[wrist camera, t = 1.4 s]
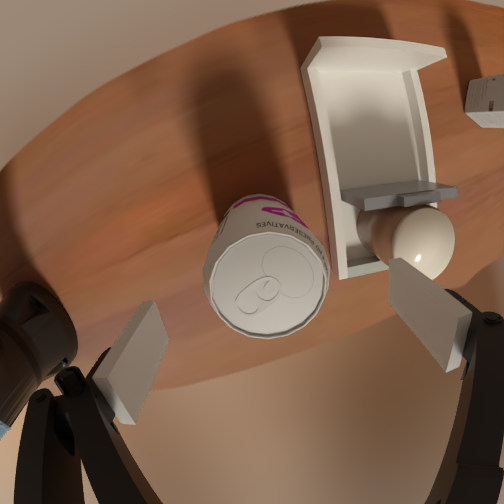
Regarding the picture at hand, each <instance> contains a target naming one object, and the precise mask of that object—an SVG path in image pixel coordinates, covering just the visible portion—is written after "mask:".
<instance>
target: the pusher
mask: <svg viewBox="0 0 504 504" xmlns="http://www.w3.org/2000/svg"><path fill="white" fill-rule="evenodd" d="M340 196H341V201H344V202H346V203H348V204H350V205H353V206H355V207H357V208H359V209H362V210H364V211H368V210H375V209H381V208H388V207H394V206H403V207H409V206H415V205H422V204H429V203H436V202H441V200H442V199H450V198H457V187H454V186H449V185H444V184H439V183H434V182H428V181H422V180H417V181H407V182H398V183H390V184H382V185H374V186H366V187H358V188H351V189H344V190H340Z"/></svg>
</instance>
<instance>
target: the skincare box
mask: <svg viewBox="0 0 504 504" xmlns="http://www.w3.org/2000/svg"><path fill="white" fill-rule="evenodd" d="M465 113H466V114H467V115H468V116H469V117H470V118H471V119H473V120H474V121H475V122H476V123H477V124H478V125H480V126H481V127H482V128H504V74H502V75H495V76H490V77H484V78H479V79H473V80H470V82H469V86H468V91H467V97H466V104H465Z"/></svg>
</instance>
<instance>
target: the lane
mask: <svg viewBox="0 0 504 504" xmlns="http://www.w3.org/2000/svg"><path fill="white" fill-rule="evenodd" d="M446 57H447V55H446V52H445V49H444V48H441V47H436V46H431V45H426V44H420V43H414V42H407V41H399V40H391V39H381V38H368V37H345V36H319V37H318V39H317V41H316V42H315V44H314V46H313V47H312V49H311V51H310V52H309V54H308V56H307V57H306V59H305V61H304V63H303V64H302V66H301V68H300V71H301V75H302V80H303V84H304V89H305V93H306V98H307V103H308V107H309V112H310V117H311V122H312V128H313V133H314V139H315V144H316V150H317V156H318V162H319V168H320V175H321V181H322V188H323V195H324V203H325V210H326V218H327V227H328V236H329V245H330V255H331V266H332V271H333V272H334V273H335V275H336V276H337V277H338V279H339V280H341V279H346V278H351V277H355V276H360V275H365V274H369V273H374V272H378V271H383V270H387V269H389V267H388V266H387V265H386V264H385V263H383V262H382V261H381V260H380V259H379V258H377V257H376V256H375V255H374V254H372V253H371V252H370V251H369V250H367V249H366V248H365V247H364V246H363V245H362V243H361V242H360V240H359V237H358V234H357V218H358V214H359V212H360V210H361V209H359V208H357V207H355V206H353V205H350V204H348V203H346V202H344V201H341V196H340V190H344V189H351V188H358V187H366V186H374V185H382V184H390V183H398V182H407V181H417V180H422V181H428V182H434V183H436V180H435V169H434V159H433V150H432V143H431V136H430V129H429V123H428V118H427V112H426V107H425V102H424V98H423V93H422V89H421V84H420V80H419V76H418V73H417V70H419V69H421V68H423V67H425V66H428V65H430V64H432V63H435V62H437V61H439V60H442V59H444V58H446ZM427 205H430V206H433V207H435V208H437V202H436V203H429V204H427Z"/></svg>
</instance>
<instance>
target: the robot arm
mask: <svg viewBox="0 0 504 504" xmlns="http://www.w3.org/2000/svg"><path fill="white" fill-rule="evenodd" d="M389 304H390V305H391V307H392V308H393V309H394V310H395V311H396V312H397V313H398V315H399V316H400V317H401V318H402V319H403V320H404V321H405V323H406V324H407V325H408V326H409V328H410V329H411V330H412V331H413V332H414V333H415V335H416V336H417V337H418V338H419V339H420V341H421V342H422V343H423V344H424V346H425V347H426V348H427V349H428V351H429V352H430V353H431V354H432V355H433V357H434V358H435V359H436V360H437V362H438V363H439V364H440V366H441V367H442V368H443V369H444V371H445V372H448V371H450V370H453V369H455V368H457V367H459V365H460V362H461V358H462V356H463V357H464V358H465V359H466V360H467V362H466V365H465V368H464V371H463V375H462V378H461V380H463V382H462V388H461V393H460V398H459V404H458V407H457V412H456V416H455V420H454V424H453V428H452V431H451V435H450V438H449V442H448V445H447V448H446V452H445V454H444V457H443V461H442V463H441V466H440V469H439V471H438V474H437V477H436V479H435V482H434V484H433V487H432V489H431V492H430V494H429V496H428V498H427V500H426V502H425V504H497V500H498V497H499V493H500V489H501V486H502V481H503V476H504V470H503V468H500V467H499V460H500V455H501V449H502V443H503V436H504V319H503V317H502V316H501V315H499V314H497V313H495V312H483V313H482V312H480V311H479V310H478V309H477V308H475V307H474V306H473V305H472V304H470V303H469V302H467V301H466V300H465V299H464V298H462V297H461V296H460V295H459V294H458V293H456V292H454V291H452V290H449V289H443V288H441V287H440V286H439V285H437V284H436V283H435V282H434V281H432V280H431V279H430V278H428V277H427V276H426V275H424V274H423V273H422V272H420V271H419V270H418V269H416V268H415V267H413V266H412V265H411V264H409V263H408V262H407V261H405V260H404V259H402V258H401V257H400V258H395V259H390V260H389ZM168 343H169V339H168V336H167V333H166V331H165V328H164V325H163V323H162V320H161V317H160V314H159V311H158V308H157V305H156V303H155V300H154V301H147V302H143V303H142V304H141V305H140V307H139V308H138V310H137V311H136V312H135V314H134V315H133V317H132V318H131V320H130V321H129V322H128V324H127V325H126V327H125V328H124V330H123V331H122V333H121V334H120V336H119V337H118V339H117V340H116V342H115V343H114V345H113V346H112V347H109V348H108V349H107V350H105V351H104V352H103V353H102V354H101V356H100V357H99V358H98V361H96V363H95V364H94V366H93V367H92V369H91V370H90V372H89V373H88V375H87V376H86V378H84V376H83V374H82V372H81V371H80V369H79V368H78V367H76V366H70V367H68V366H69V365H70V364H71V362H72V361H73V360H74V358H75V357H76V354H77V350H78V342H77V336H76V332H75V329H74V327H73V324H72V322H71V320H70V318H69V316H68V315H67V313H66V311H65V310H64V309H63V307H62V306H61V305H60V303H59V302H58V301H57V300H56V299H55V298H54V297H53V296H52V295H51V294H50V293H49V292H48V291H46V290H45V289H44V288H42V287H40V286H39V285H37V284H34V283H31V282H21V283H19V284H17V285H15V286H14V287H12V288H11V289H10V290H9V291H8V292H7V293H6V294H5V296H4V297H3V299H2V301H1V302H0V440H1V438H2V437H3V435H5V433H6V432H7V431H9V430H10V427H11V426H12V424H13V423H14V421H15V420H16V418H17V417H18V415H19V414H20V412H21V411H22V409H23V408H24V406H25V405H26V404H27V402H28V401H29V402H28V406H27V411H26V415H25V419H24V425H23V429H22V434H21V440H20V446H19V452H18V460H17V467H16V477H15V488H14V504H85V501H84V492H83V483H82V472H81V460H82V463H83V466H84V468H85V471H86V474H87V476H88V479H89V481H90V484H91V486H92V489H93V491H94V493H95V495H96V498H97V500H98V502H99V504H163V503H162V502H161V500H160V499H159V498H158V496H157V495H156V493H155V492H154V490H153V489H152V487H151V486H150V484H149V483H148V481H147V480H146V478H145V477H144V475H143V473H142V472H141V470H140V469H139V467H138V465H137V463H136V462H135V460H134V458H133V457H132V455H131V453H130V451H129V450H128V448H127V446H126V444H125V442H124V440H123V439H122V437H121V435H120V433H119V431H118V429H117V427H116V425H115V424H114V422H113V419H114V417H115V415H116V416H117V418H118V419H119V421H120V422H121V423H122V424H134V425H136V423H137V421H138V418H139V415H140V413H141V410H142V408H143V405H144V403H145V400H146V397H147V395H148V392H149V390H150V387H151V385H152V382H153V380H154V377H155V375H156V372H157V370H158V367H159V365H160V362H161V360H162V358H163V355H164V353H165V350H166V348H167V346H168ZM56 374H57V375H56ZM54 375H56V376H55V379H54V382H55V383H56V385H57V386H58V388H59V390H60V391H61V393H62V394H63V395H60V396H53V394H52V393H51V391H50V390H49V389H46V388H44V389H40V390H37V391H36V389H37V388H38V386H39V385H40V384H41V383H42V382H43V381H45V380H46V379H48V378H50V377H52V376H54Z"/></svg>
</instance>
